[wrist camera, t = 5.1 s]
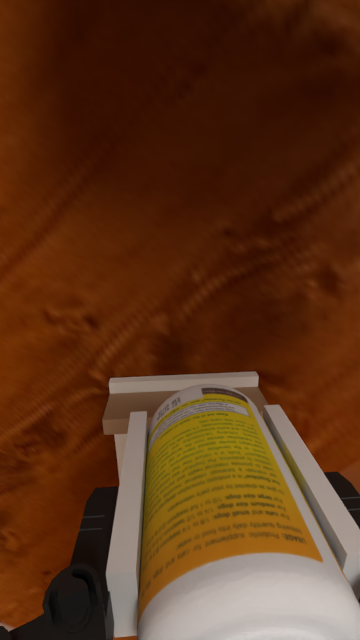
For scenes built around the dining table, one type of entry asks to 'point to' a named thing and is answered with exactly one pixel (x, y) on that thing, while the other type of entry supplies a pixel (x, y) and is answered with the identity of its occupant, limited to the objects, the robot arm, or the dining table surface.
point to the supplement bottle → (232, 532)
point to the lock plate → (163, 398)
